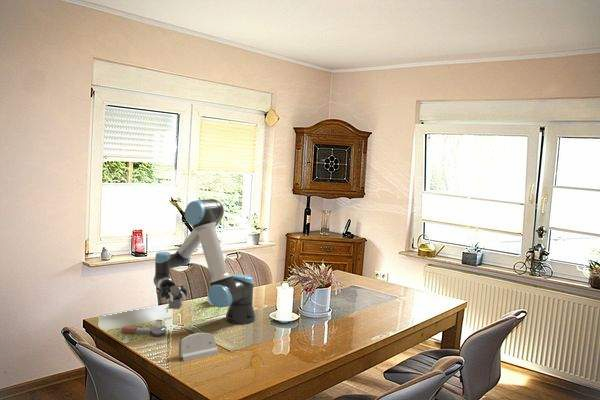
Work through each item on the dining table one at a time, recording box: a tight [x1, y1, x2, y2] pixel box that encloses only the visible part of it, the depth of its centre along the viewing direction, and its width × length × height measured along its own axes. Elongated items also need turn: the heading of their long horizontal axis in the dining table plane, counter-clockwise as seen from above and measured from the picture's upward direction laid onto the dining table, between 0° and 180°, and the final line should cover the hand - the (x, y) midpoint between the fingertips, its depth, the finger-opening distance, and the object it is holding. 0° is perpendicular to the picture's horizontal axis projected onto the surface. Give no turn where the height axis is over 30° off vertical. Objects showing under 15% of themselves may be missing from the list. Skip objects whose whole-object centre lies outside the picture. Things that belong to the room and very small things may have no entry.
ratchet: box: [121, 319, 167, 338], centre depth 244 cm, size 20×7×6 cm, turn 90°
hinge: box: [178, 332, 219, 362], centre depth 223 cm, size 17×5×10 cm, turn 127°
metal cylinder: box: [168, 285, 183, 310], centre depth 254 cm, size 5×5×10 cm
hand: (178, 297), depth 250 cm, fingers closed on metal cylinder, 5 cm apart
